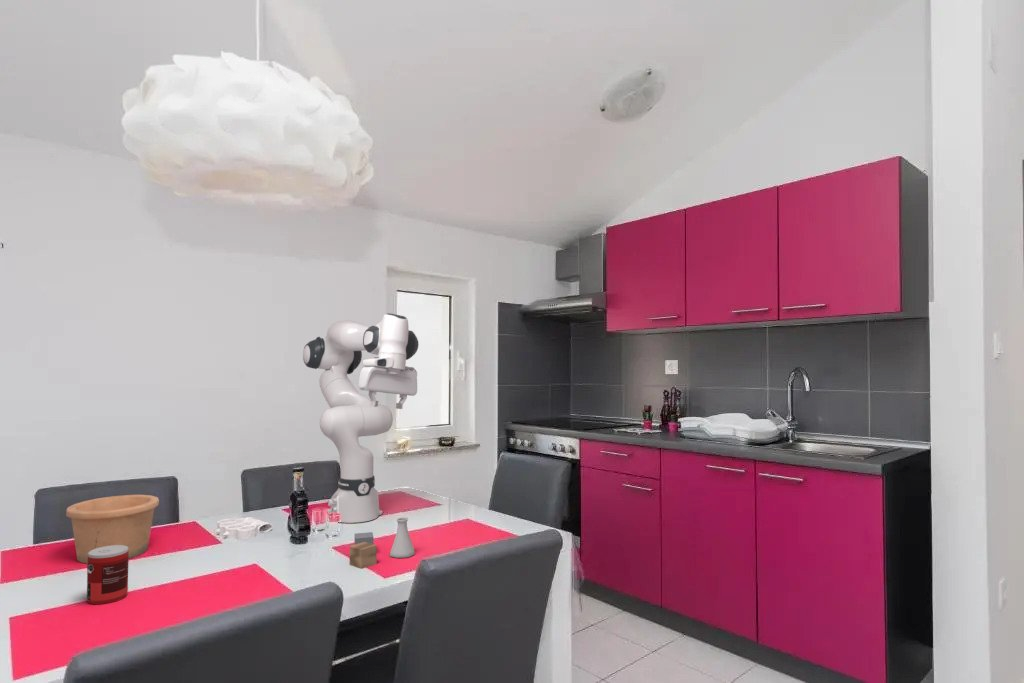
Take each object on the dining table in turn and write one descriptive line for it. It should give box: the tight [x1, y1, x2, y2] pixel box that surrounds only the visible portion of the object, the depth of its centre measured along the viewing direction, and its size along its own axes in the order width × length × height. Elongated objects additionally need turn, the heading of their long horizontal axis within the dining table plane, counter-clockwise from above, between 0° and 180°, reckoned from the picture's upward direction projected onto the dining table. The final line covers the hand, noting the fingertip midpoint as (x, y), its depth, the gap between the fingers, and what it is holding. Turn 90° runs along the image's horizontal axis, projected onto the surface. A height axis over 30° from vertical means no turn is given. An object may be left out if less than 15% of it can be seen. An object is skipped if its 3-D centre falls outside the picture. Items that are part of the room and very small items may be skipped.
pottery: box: [65, 494, 160, 564], centre depth 168 cm, size 22×22×14 cm
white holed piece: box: [214, 516, 273, 541], centre depth 189 cm, size 3×18×15 cm
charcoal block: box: [353, 531, 375, 545], centre depth 169 cm, size 5×5×5 cm
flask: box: [389, 516, 416, 559], centre depth 167 cm, size 7×7×10 cm
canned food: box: [86, 545, 129, 605], centre depth 137 cm, size 8×8×11 cm
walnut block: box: [349, 542, 378, 570], centre depth 159 cm, size 5×5×5 cm
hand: (386, 407), depth 186 cm, fingers open, 8 cm apart
